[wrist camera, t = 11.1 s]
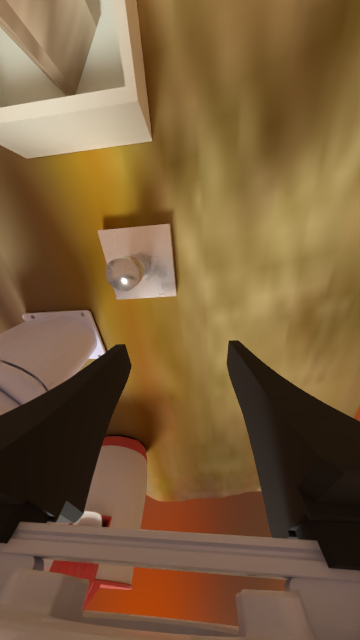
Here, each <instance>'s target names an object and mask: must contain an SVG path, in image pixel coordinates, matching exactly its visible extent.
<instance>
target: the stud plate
mask: <svg viewBox="0 0 360 640" xmlns="http://www.w3.org/2000/svg"><path fill="white" fill-rule="evenodd" d="M98 235H99V238H100V242H101V245H102V249H103V252H104V256H105V259H106V263H107V267H106V278H107V280H108V282H109V283H110V285H111V286H112V287H114V291H115V294H116V298H117V299H133V298H151V297H168V296H176V294H177V290H176V278H175V267H174V256H173V245H172V233H171V225H170V224H160V225H150V226H139V227H129V228H118V229H108V230H98Z"/></svg>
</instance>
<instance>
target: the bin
mask: <svg viewBox="0 0 360 640" xmlns="http://www.w3.org/2000/svg"><path fill="white" fill-rule="evenodd" d="M96 3H97V5H98V8H99V11H100V13H101V16H100V19H99V22H98V25H97V28H96V31H95V35H94V38H93V41H92V44H91V47H90V51H89V54H88V57H87V60H86V63H85V66H84V70H83V73H82V76H81V79H80V82H79V86H78V89H77V92H76V95H72V96H66V95H65V94H64V93H63V92H62V91H61V90H60V89H59V88H58V87H57V86H56V85H55V84H54V83H53V82H52V81H51V80H50V79H49V77H48V76H47V75H46V74H45V73H44V72H43V71H42V70H41V69H40V68H39V67H38V66H37V65H36V64H35V63H34V62H33V61H32V60H31V59H30V58H29V57H28V56H27V55H26V54H25V53H24V52H23V51H22V50H21V48H20V47H19V46H18V45H17V44H16V43H15V42H14V41H13V40H12V39H11V38H10V37H9V36H8V35H7V34H6V33H5V32H4V31H3V29H2V28H1V27H0V145H1V146H3V147H5V148H7V149H9V150H11V151H13V152H15V153H17V154H19V155H21V156H23V157H25V158H27V159H28V158H35V157H42V156H50V155H57V154H64V153H71V152H78V151H86V150H93V149H100V148H107V147H114V146H121V145H129V144H136V143H143V142H150V141H152V133H151V125H150V116H149V107H148V98H147V89H146V80H145V71H144V62H143V53H142V44H141V35H140V26H139V18H138V9H137V0H96Z"/></svg>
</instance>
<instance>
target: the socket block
mask: <svg viewBox="0 0 360 640" xmlns="http://www.w3.org/2000/svg"><path fill="white" fill-rule="evenodd" d="M100 16H101V13H100V11H99V8H98V5H97V3H96V0H0V27H1V28H2V29H3V31H4V32H5V33H6V34H7V35H8V36H9V37H10V38H11V39H12V40H13V41H14V42H15V43H16V44H17V45H18V46H19V47H20V48H21V50H22V51H23V52H24V53H25V54H26V55H27V56H28V57H29V58H30V59H31V60H32V61H33V62H34V63H35V64H36V65H37V66H38V67H39V68H40V69H41V70H42V71H43V72H44V73H45V74H46V75H47V76H48V77H49V79H50V80H51V81H52V82H53V83H54V84H55V85H56V86H57V87H58V88H59V89H60V90H61V91H62V92H63V93H64V94H65V95H66V96H72V95H76V92H77V89H78V86H79V82H80V79H81V76H82V73H83V70H84V66H85V63H86V60H87V57H88V54H89V51H90V47H91V44H92V41H93V38H94V35H95V31H96V28H97V25H98V22H99V19H100Z"/></svg>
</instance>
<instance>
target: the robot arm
mask: <svg viewBox="0 0 360 640" xmlns="http://www.w3.org/2000/svg"><path fill="white" fill-rule="evenodd" d="M82 313H83V314H84V315H83V314H82ZM22 317H23V319H24V320H25V322H23V323H21V324H19V325H17V326H15V327H13V328H11V329H9V330H7V331H5V332H3V333H1V334H0V640H360V422H359V421H358V420H356V419H354V418H352V417H350V416H348V415H346V414H344V413H342V412H340V411H338V410H336V409H334V408H332V407H331V406H329V405H327V404H325V403H323V402H322V401H320V400H318V399H316V398H315V397H313V396H311V395H310V394H308V393H306V392H305V391H303V390H301V389H300V388H298V387H297V386H295V385H294V384H292V383H291V382H289V381H288V380H286V379H285V378H283V377H282V376H280V375H279V374H277V373H276V372H275V371H274V370H272V369H271V368H270V367H268V366H267V365H266V364H264V363H263V362H262V361H261V360H260V359H258V358H257V357H256V356H255V355H254V354H253V353H252V352H250V351H249V350H248V349H247V348H246V347H245V346H244V345H243V344H242V343H240V342H239V341H229V345H228V356H227V367H228V372H229V376H230V379H231V382H232V385H233V388H234V391H235V394H236V396H237V399H238V402H239V405H240V407H241V410H242V413H243V416H244V420H245V423H246V427H247V431H248V435H249V439H250V443H251V447H252V451H253V455H254V459H255V463H256V468H257V472H258V476H259V481H260V485H261V490H262V494H263V498H264V504H265V508H266V513H267V518H268V523H269V527H270V532H271V535H272V538H267V537H252V536H236V535H221V534H204V533H189V532H172V531H157V530H142V529H126V528H110V527H95V526H79V525H63V524H47V522H50V523H56V522H59V523H75V522H77V521H78V520H79V519H80V518H81V516H82V515H83V514H84V510H85V506H86V502H87V498H88V494H89V490H90V486H91V482H92V478H93V475H94V471H95V467H96V464H97V460H98V457H99V453H100V450H101V447H102V444H103V440H104V437H105V434H106V431H107V428H108V425H109V422H110V419H111V417H112V414H113V412H114V409H115V407H116V405H117V403H118V400H119V398H120V396H121V394H122V391H123V389H124V387H125V384H126V382H127V380H128V377H129V373H130V370H131V362H130V359H129V356H128V353H127V349H126V346H125V344H120V345H115V346H114V347H112V348H111V349H110V350H108V351H107V352H106V350H105V348H104V345H103V343H102V340H101V338H100V335H99V332H98V330H97V327H96V325H95V322H94V319H93V317H92V314H91V312H90V311H88V310H76V311H57V312H38V313H25V314H23V315H22ZM100 355H101V356H100ZM88 359H96V360H95V361H94V362H92V363H91V364H90V365H88V366H87V367H85V368H84V369H82V370H81V371H80V372H78V371H79V369H80V368H81V367H82V366H83V365H84V363H85V362H86V361H87V360H88ZM77 372H78V373H77ZM76 373H77V374H76ZM43 559H46V560H58V561H70V562H82V563H94V564H106V565H118V566H130V567H143V568H154V569H166V570H178V571H191V572H202V573H213V574H225V575H237V576H249V577H262V578H274V579H286V582H285V584H284V591H266V590H265V591H264V590H242V592H241V593H237V595H236V604H237V611H238V619H239V627H237V626H229V625H221V624H213V623H204V622H196V621H188V620H180V619H171V618H162V617H152V616H141V615H132V614H121V613H110V612H99V611H88V610H83V605H84V601H85V597H86V594H87V590H88V587H89V580H88V579H83V578H77V577H73V576H68V575H65V574H62V573H54V572H46V571H44V560H43Z"/></svg>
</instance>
